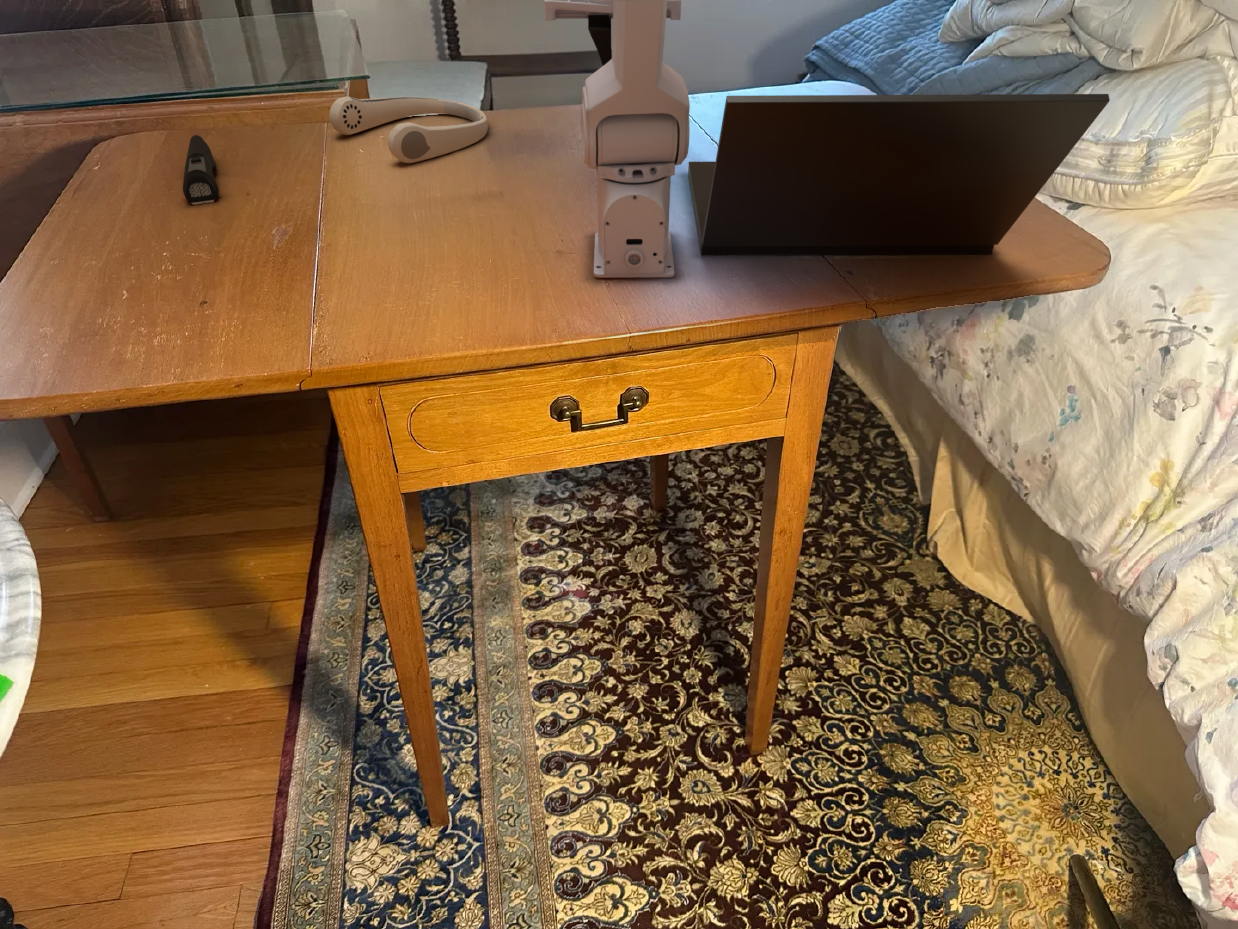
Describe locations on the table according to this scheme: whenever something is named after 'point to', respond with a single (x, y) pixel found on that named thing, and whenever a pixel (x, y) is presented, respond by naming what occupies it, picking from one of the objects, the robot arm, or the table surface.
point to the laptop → (700, 193)
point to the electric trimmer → (199, 173)
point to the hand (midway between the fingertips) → (613, 88)
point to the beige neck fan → (410, 124)
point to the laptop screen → (886, 166)
